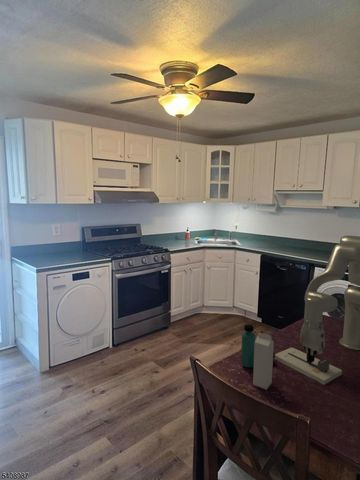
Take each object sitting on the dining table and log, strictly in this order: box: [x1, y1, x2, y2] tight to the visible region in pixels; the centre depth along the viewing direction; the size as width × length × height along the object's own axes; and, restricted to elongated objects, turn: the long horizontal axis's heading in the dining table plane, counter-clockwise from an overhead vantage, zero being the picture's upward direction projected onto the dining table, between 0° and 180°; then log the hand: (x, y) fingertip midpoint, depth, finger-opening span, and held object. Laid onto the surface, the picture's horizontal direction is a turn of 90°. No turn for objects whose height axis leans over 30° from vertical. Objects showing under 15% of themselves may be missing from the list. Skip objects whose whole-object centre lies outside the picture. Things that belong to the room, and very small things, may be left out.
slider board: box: [273, 347, 343, 386], centre depth 146 cm, size 14×26×2 cm, turn 35°
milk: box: [252, 332, 275, 391], centre depth 130 cm, size 6×6×22 cm
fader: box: [318, 358, 330, 372], centre depth 139 cm, size 4×3×4 cm
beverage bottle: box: [240, 323, 257, 368], centre depth 144 cm, size 6×7×20 cm
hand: (310, 361), depth 144 cm, fingers closed
